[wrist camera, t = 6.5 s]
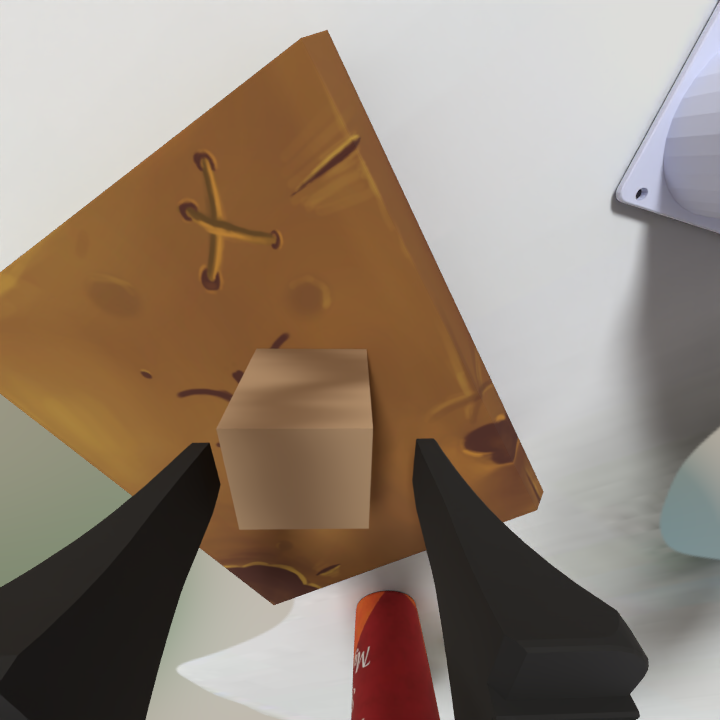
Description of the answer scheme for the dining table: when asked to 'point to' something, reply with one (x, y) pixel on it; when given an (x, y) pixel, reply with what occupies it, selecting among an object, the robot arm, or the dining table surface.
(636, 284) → the dining table surface
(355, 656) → the paper cup
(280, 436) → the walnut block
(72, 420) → the diary
